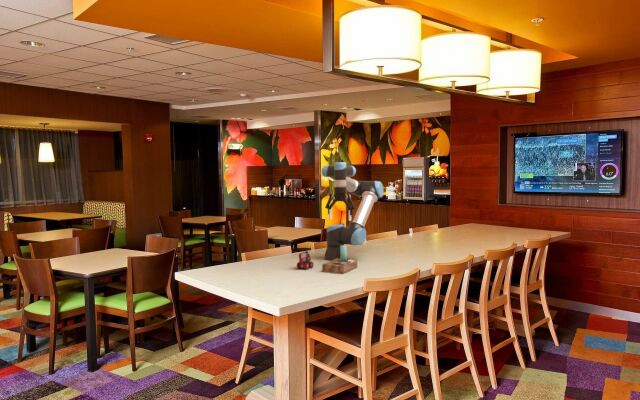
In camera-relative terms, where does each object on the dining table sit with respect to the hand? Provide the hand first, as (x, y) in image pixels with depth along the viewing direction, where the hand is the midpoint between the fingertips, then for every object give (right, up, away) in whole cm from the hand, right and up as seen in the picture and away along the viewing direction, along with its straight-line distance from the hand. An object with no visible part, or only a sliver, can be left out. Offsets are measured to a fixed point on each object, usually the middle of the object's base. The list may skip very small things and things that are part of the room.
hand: (340, 220), depth 304 cm
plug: (+2, -28, -8) cm, 30 cm away
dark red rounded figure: (-22, -30, -8) cm, 38 cm away
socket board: (-1, -30, -12) cm, 32 cm away
